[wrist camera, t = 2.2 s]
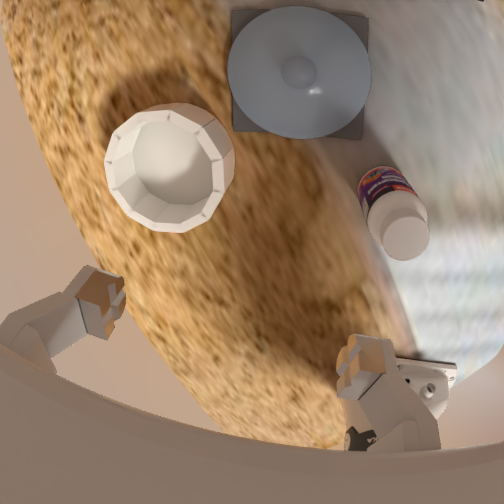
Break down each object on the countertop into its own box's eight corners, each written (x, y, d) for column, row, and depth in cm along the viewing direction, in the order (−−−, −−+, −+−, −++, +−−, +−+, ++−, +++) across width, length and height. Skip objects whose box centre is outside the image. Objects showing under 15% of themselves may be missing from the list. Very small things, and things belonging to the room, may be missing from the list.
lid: (371, 15, 20) (381, 9, 17) (363, 143, 27) (371, 155, 24) (228, 8, 21) (217, 0, 18) (230, 134, 28) (220, 144, 25)
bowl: (234, 100, 27) (221, 107, 23) (236, 212, 34) (226, 236, 30) (123, 107, 28) (97, 117, 24) (137, 207, 35) (117, 228, 31)
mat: (367, 18, 20) (368, 17, 20) (360, 138, 27) (361, 140, 27) (233, 11, 22) (231, 10, 21) (234, 130, 29) (233, 131, 28)
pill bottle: (402, 160, 27) (437, 202, 20) (408, 207, 30) (438, 261, 22) (351, 170, 29) (369, 215, 21) (361, 217, 32) (377, 274, 24)
